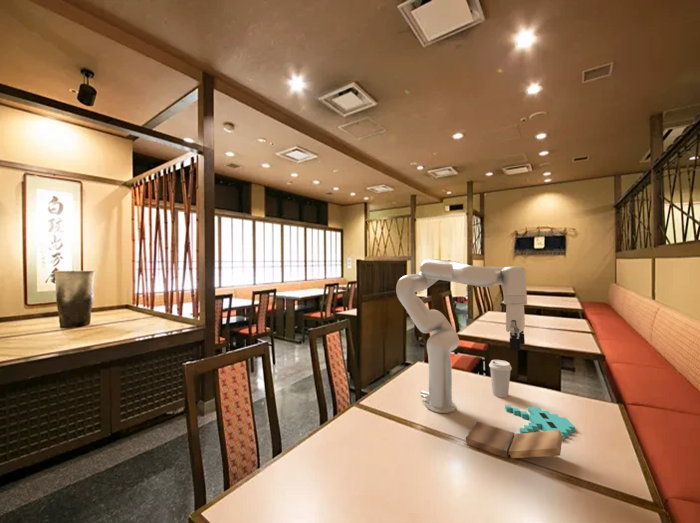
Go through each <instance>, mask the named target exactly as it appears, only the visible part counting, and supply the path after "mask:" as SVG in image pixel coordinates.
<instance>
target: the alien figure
mask: <svg viewBox="0 0 700 523" xmlns="http://www.w3.org/2000/svg"><path fill="white" fill-rule="evenodd" d="M504 409H505V411H506V412H509V413H512V414H513V415H514V416H520V417H521V418H522V419H526V420H527V419H528V420H529V421H530V422H528V425H526V424H525V425H524V427H520V428H519V434H521V433H531V432H539V431H538V429H539V430H540V429H542V430H541V431H552V430H560V432H561V434H562V436H563V437H562V442H563V441H564V440H565V438H568V437H569V435H572V432H573V433H576V426H575V425H574V424H573V423H572V422H571V421H570V420H569V419H568V418H567V417H563V416H561V417H560V416H559V414H557V413H551V412H550V411H549V410H542V408H541V407H533V406H528V407H527V410H526V411H524V410H520V408H516V407H513V406H512V405H510V404H505V405H504ZM527 411H528V412H527ZM568 439H569V438H568Z"/></svg>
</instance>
